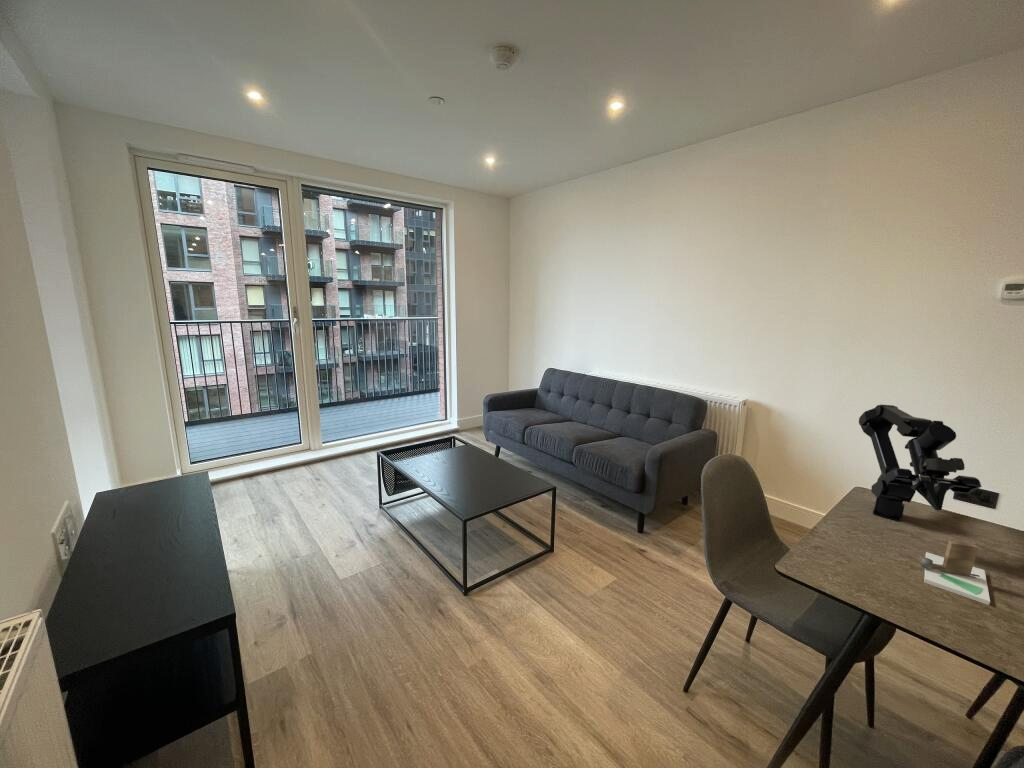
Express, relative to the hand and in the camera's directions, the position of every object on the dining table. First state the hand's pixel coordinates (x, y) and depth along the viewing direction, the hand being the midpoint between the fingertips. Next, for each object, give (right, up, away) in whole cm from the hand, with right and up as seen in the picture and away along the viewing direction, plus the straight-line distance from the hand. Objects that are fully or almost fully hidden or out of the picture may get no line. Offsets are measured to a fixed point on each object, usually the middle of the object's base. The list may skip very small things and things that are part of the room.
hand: (938, 510), depth 112 cm
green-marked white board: (-3, -15, -7) cm, 17 cm away
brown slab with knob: (-4, -14, -6) cm, 15 cm away
